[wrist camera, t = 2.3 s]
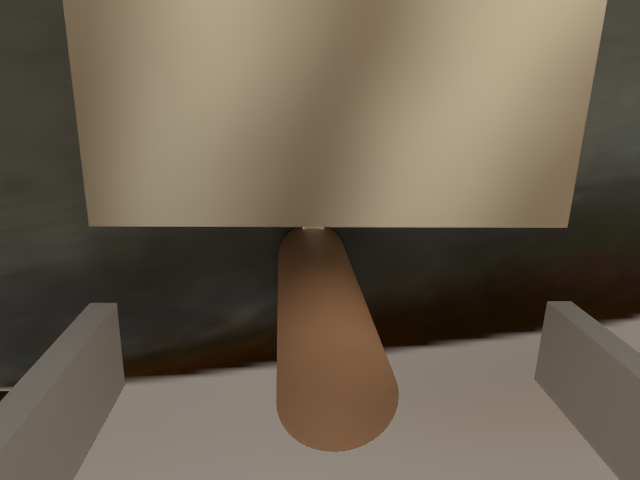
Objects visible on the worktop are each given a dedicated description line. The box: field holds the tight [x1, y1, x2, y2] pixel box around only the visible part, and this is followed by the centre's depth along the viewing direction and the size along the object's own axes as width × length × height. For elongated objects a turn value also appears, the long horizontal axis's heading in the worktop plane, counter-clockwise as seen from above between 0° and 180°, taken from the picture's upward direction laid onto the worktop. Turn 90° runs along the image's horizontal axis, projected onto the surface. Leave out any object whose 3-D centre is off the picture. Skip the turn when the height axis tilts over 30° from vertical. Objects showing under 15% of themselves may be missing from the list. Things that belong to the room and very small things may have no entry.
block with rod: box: [277, 227, 398, 452], centre depth 16 cm, size 6×15×11 cm, turn 179°
